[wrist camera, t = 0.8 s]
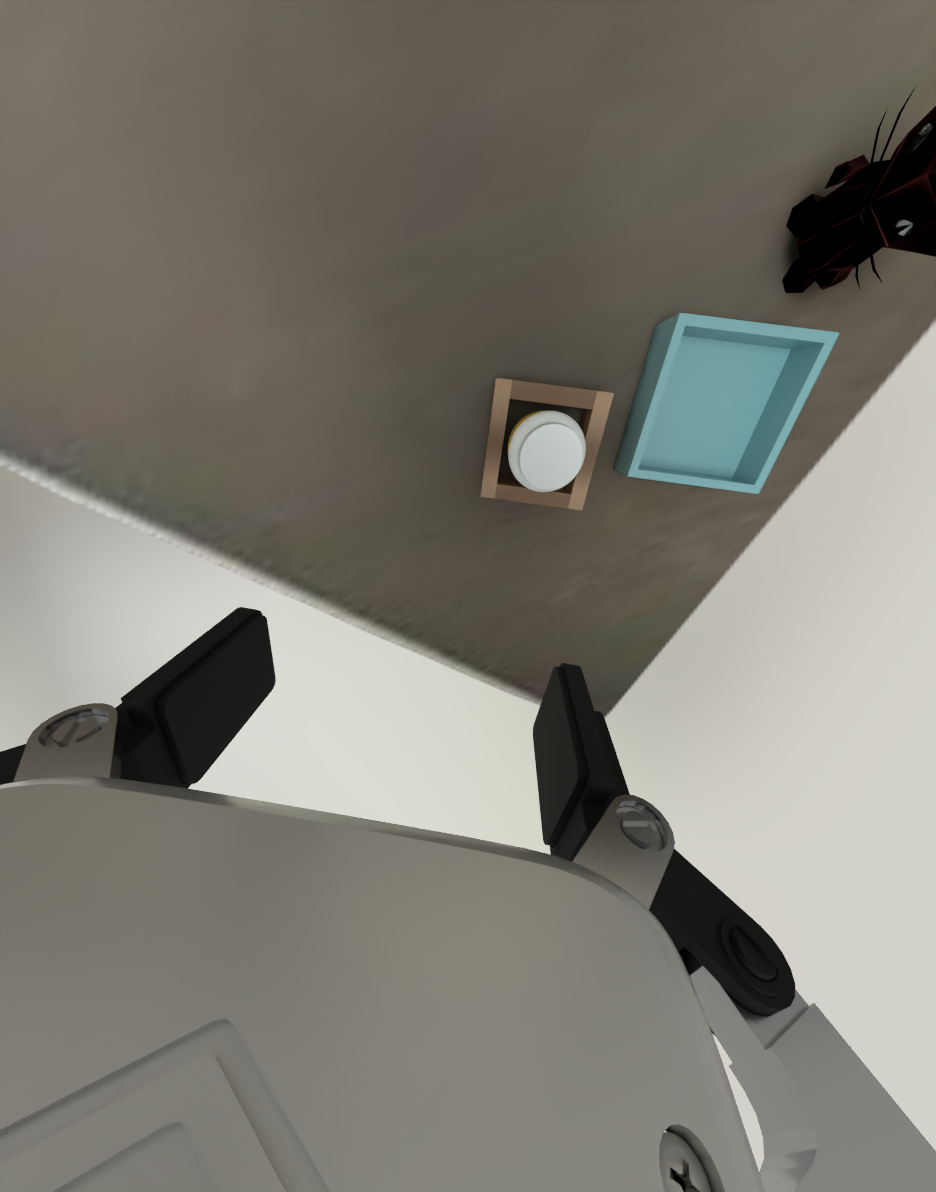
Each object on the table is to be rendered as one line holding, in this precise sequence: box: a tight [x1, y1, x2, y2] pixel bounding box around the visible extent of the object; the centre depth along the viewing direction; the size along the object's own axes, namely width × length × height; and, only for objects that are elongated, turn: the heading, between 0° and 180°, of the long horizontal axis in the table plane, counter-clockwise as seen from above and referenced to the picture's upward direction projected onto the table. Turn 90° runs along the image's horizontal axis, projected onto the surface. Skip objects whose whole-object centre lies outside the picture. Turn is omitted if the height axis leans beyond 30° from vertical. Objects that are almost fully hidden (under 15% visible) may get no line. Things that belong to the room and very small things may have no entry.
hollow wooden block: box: [481, 378, 614, 510], centre depth 29 cm, size 9×9×4 cm
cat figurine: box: [782, 86, 936, 293], centre depth 18 cm, size 7×7×12 cm
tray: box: [613, 313, 839, 494], centre depth 27 cm, size 10×10×4 cm
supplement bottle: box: [508, 411, 586, 492], centre depth 27 cm, size 5×5×10 cm
